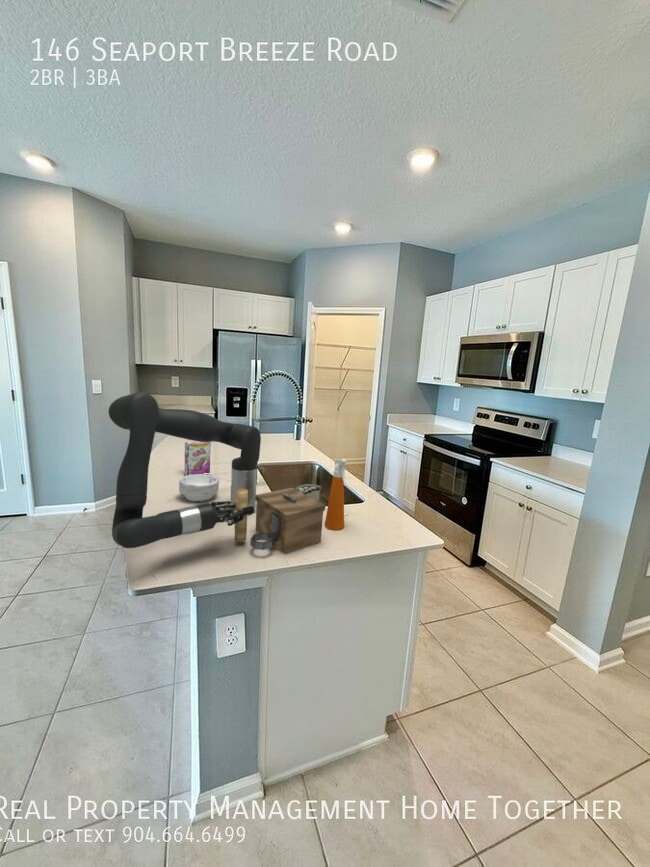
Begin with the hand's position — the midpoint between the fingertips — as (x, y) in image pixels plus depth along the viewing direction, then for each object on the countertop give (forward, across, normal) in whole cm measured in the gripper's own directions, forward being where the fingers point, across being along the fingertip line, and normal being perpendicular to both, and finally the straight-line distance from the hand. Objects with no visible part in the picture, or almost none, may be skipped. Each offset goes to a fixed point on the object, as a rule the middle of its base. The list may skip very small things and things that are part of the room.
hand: (249, 507), depth 111 cm
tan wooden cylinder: (-3, 0, +10) cm, 10 cm away
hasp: (+1, -8, +9) cm, 12 cm away
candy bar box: (+10, +72, +12) cm, 74 cm away
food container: (+29, +10, +12) cm, 33 cm away
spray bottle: (+30, -8, +12) cm, 33 cm away
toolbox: (+12, -4, +11) cm, 17 cm away
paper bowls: (0, +43, +12) cm, 45 cm away
